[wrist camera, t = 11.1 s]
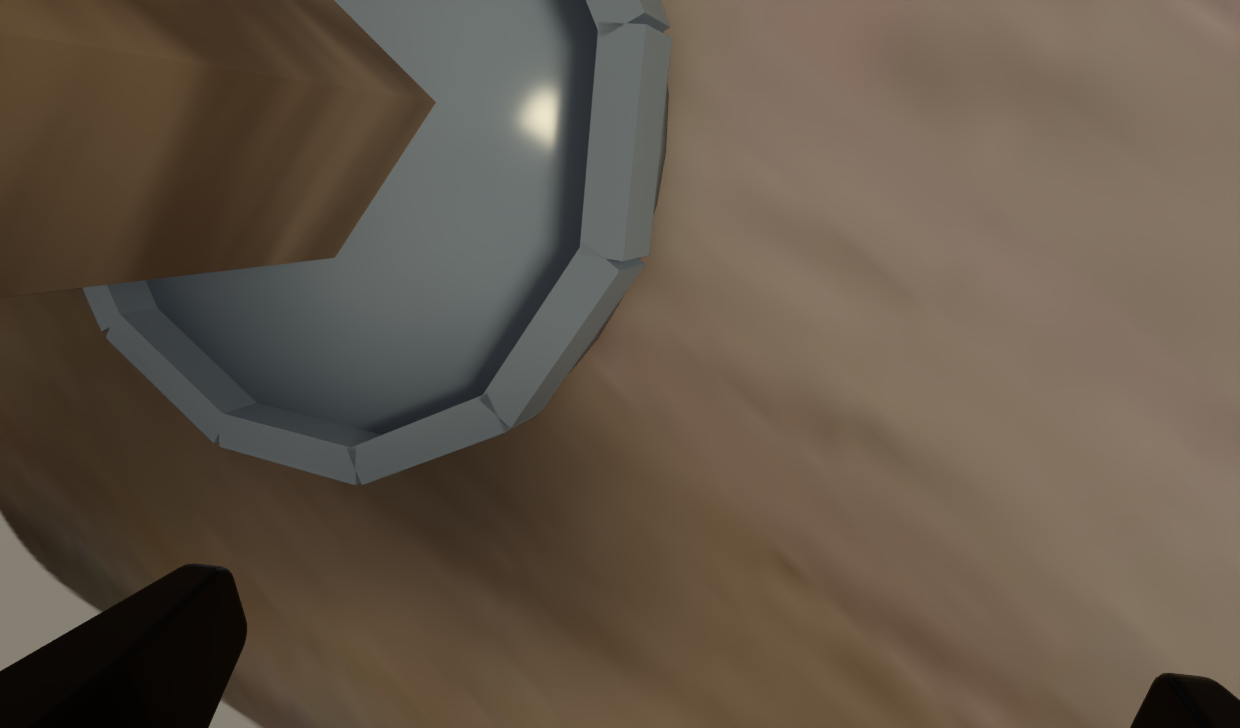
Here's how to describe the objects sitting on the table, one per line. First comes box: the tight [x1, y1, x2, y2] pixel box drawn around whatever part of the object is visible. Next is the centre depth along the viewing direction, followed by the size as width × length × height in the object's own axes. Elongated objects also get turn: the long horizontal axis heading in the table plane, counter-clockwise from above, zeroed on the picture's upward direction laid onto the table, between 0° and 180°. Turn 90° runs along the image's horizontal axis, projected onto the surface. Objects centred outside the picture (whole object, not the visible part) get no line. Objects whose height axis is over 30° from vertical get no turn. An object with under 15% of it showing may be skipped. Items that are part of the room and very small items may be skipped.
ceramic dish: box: [82, 0, 672, 485], centre depth 20 cm, size 18×18×2 cm
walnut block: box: [0, 0, 436, 297], centre depth 14 cm, size 5×5×13 cm
